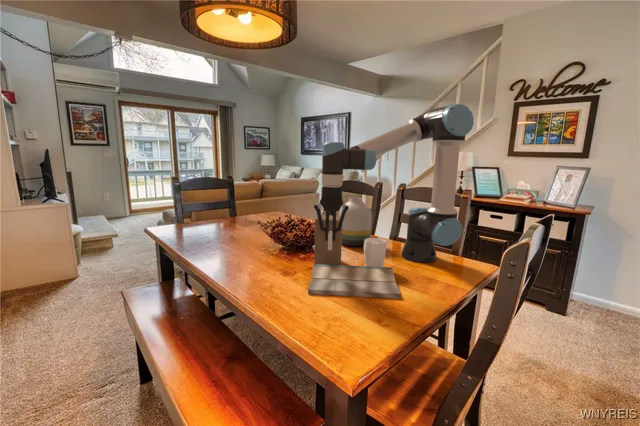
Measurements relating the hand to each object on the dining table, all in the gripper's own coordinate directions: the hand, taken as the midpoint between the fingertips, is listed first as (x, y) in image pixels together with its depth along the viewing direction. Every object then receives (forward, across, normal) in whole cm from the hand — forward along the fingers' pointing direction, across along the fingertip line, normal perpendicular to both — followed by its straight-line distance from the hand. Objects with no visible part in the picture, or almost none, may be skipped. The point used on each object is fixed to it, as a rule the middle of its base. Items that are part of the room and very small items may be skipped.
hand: (329, 248), depth 114 cm
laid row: (+11, -9, +11) cm, 18 cm away
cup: (+11, -18, -10) cm, 23 cm away
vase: (+11, -11, -46) cm, 48 cm away
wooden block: (+11, +1, -15) cm, 18 cm away
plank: (+10, -9, +1) cm, 13 cm away
